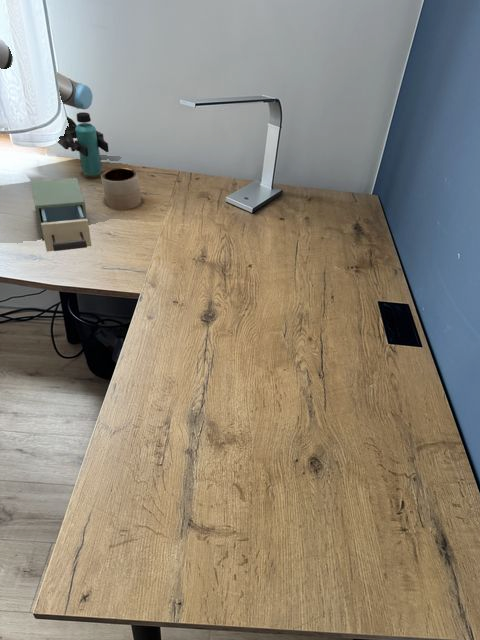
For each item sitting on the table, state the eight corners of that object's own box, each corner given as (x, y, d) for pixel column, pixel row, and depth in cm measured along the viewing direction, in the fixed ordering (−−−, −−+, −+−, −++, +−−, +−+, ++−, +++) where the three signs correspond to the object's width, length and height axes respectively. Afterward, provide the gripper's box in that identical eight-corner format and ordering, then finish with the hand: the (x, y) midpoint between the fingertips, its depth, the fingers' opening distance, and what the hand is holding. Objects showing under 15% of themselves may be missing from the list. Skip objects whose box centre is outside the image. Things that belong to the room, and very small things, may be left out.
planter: (124, 192, 164) (120, 163, 158) (148, 202, 160) (145, 173, 153) (99, 204, 157) (92, 175, 151) (123, 215, 153) (118, 185, 146)
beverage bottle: (106, 178, 169) (97, 115, 156) (86, 181, 166) (76, 117, 153) (98, 171, 173) (89, 109, 160) (79, 174, 170) (69, 111, 157)
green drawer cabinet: (89, 236, 143) (84, 201, 136) (42, 241, 139) (34, 205, 132) (81, 211, 153) (76, 178, 146) (37, 215, 148) (29, 181, 141)
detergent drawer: (96, 262, 133) (92, 233, 127) (50, 268, 129) (44, 238, 123) (84, 225, 146) (80, 196, 140) (42, 229, 142) (36, 200, 136)
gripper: (88, 132, 179) (124, 155, 168) (35, 141, 168) (70, 167, 157) (85, 109, 174) (122, 132, 163) (30, 118, 163) (66, 143, 152)
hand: (97, 149), depth 160 cm, fingers closed on beverage bottle, 6 cm apart
